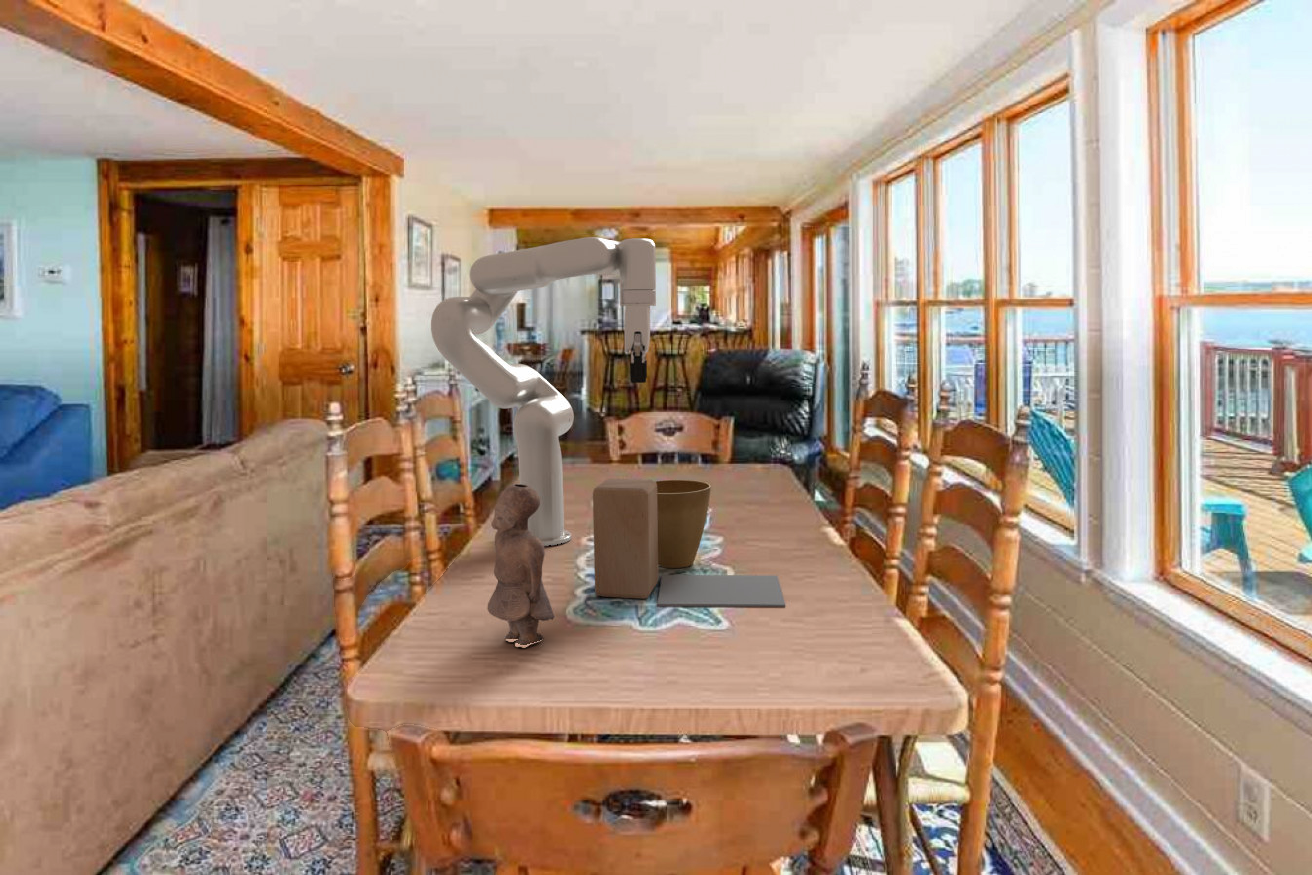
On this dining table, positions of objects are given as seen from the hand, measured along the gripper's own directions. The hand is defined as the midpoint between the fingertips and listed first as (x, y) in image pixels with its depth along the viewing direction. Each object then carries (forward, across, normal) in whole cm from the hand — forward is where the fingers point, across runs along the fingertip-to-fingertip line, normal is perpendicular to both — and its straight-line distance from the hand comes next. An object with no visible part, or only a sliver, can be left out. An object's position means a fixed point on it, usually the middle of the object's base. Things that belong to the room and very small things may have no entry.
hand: (638, 380), depth 191 cm
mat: (+36, +32, +15) cm, 51 cm away
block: (+36, +32, -2) cm, 48 cm away
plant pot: (+36, +14, +7) cm, 39 cm away
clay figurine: (+36, +57, -17) cm, 69 cm away
